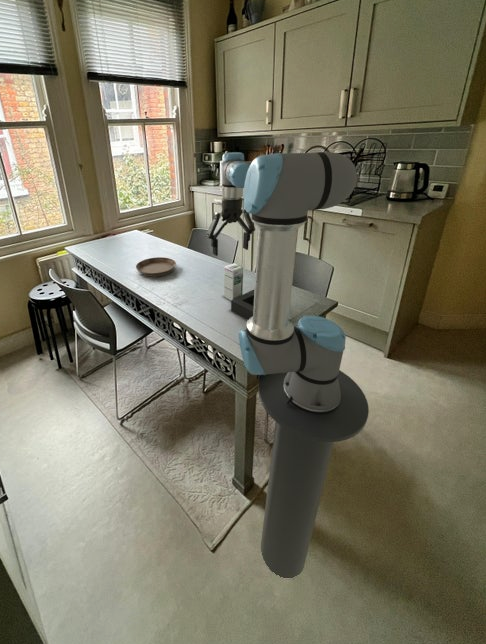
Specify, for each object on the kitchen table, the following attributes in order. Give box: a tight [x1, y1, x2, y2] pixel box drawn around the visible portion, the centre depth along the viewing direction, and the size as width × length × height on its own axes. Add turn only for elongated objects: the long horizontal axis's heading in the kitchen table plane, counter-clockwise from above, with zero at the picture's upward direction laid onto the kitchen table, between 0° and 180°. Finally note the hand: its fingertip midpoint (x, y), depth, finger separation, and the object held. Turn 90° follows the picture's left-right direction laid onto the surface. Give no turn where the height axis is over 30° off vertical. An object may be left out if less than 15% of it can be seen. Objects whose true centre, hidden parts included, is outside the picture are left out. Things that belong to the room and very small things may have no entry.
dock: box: [230, 289, 255, 321], centre depth 124 cm, size 13×13×5 cm
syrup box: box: [223, 262, 244, 301], centre depth 133 cm, size 6×6×14 cm
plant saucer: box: [135, 256, 177, 277], centre depth 163 cm, size 21×21×3 cm
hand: (230, 251), depth 125 cm, fingers open, 13 cm apart
